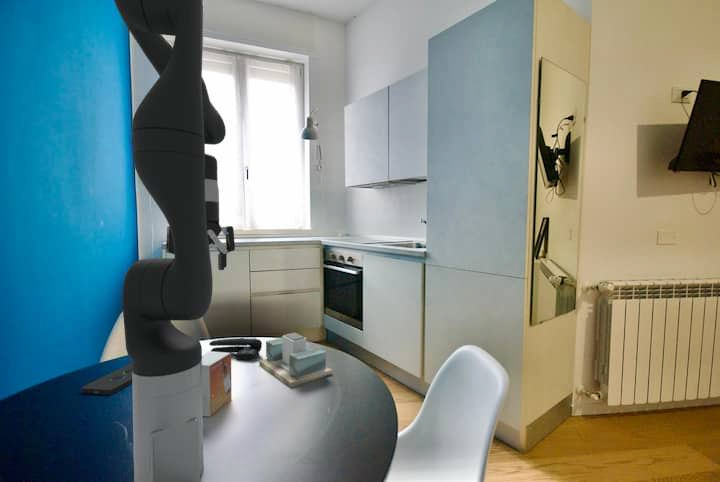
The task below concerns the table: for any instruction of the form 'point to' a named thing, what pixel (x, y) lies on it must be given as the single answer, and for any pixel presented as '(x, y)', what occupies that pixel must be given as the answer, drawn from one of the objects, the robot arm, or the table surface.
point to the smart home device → (111, 382)
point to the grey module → (292, 345)
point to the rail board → (295, 364)
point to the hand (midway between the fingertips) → (202, 271)
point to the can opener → (239, 347)
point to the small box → (215, 381)
